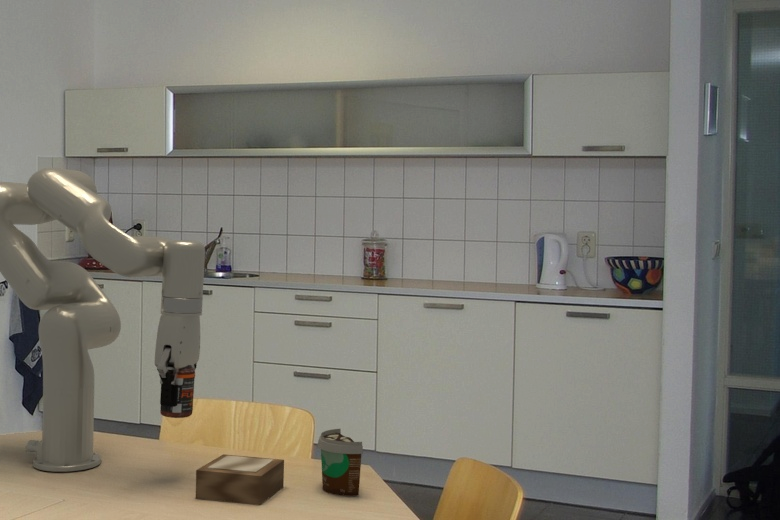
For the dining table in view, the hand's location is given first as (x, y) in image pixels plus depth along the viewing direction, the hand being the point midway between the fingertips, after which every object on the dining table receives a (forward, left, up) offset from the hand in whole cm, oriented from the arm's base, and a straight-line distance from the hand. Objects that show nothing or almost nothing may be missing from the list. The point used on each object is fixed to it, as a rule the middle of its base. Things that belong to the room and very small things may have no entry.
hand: (176, 401), depth 175 cm
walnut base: (+15, -4, -15) cm, 21 cm away
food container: (+30, +3, -15) cm, 34 cm away
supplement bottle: (0, 0, -3) cm, 3 cm away
